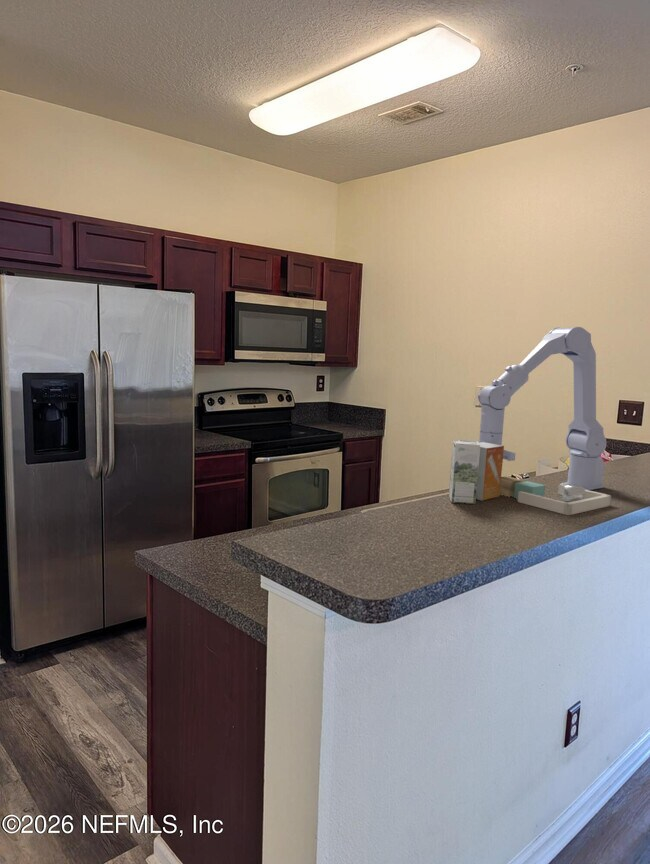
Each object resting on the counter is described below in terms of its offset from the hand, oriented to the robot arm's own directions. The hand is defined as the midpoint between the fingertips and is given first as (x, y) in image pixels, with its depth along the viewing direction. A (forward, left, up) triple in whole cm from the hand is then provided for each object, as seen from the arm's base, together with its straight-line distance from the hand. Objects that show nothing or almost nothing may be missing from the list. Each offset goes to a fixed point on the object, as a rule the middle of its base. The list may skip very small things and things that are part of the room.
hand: (487, 483), depth 160 cm
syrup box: (+17, +6, -2) cm, 18 cm away
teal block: (0, +13, -2) cm, 13 cm away
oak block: (0, +6, -2) cm, 7 cm away
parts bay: (-4, +20, -1) cm, 20 cm away
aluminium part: (-8, +20, -2) cm, 21 cm away
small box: (+9, +5, -2) cm, 10 cm away
